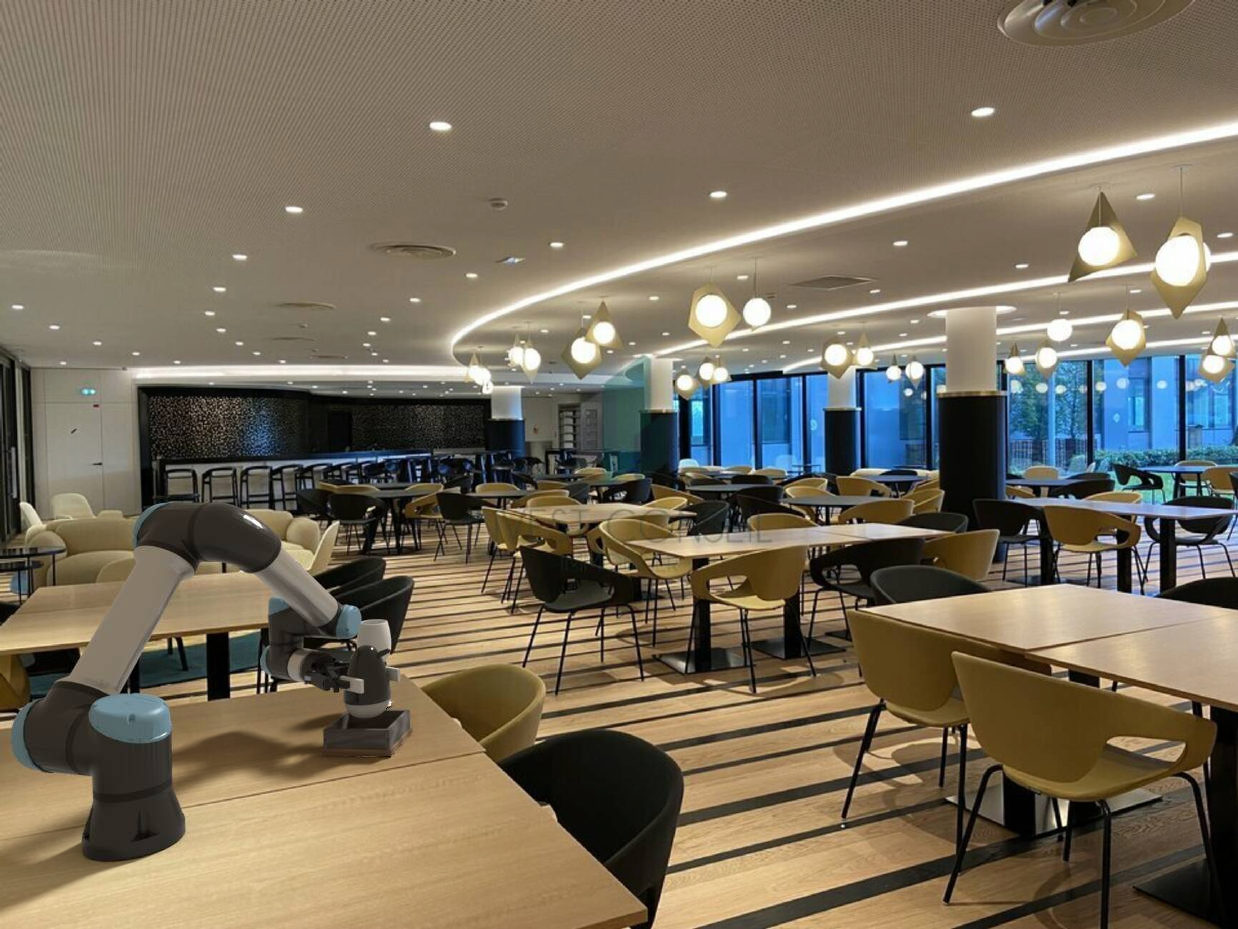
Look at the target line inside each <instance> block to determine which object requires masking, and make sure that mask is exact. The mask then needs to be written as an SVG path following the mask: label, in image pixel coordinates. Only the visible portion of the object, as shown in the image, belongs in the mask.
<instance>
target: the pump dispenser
mask: <svg viewBox="0 0 1238 929" xmlns="http://www.w3.org/2000/svg"><path fill="white" fill-rule="evenodd" d="M391 650H392V649H391ZM391 650H390V648H387V649H384V650H381V651H378V650H377V649H376V648H375V647H374V646H372V645H362V646H360V647H358V648H357V647H356V648H355V650H354V651H353V654H352V655H351V657H350V660H349V661H348V662H349V664H348V667H347V671H346V674H345V676H347V677H352V678H357V679H362V680H364V693H356V692H352V691H347V690H342V702H343V703H344V706H345V708H346V711H348V712H349V713H350V714H351V715H353V716H355V717H358V718H371V717H375V716H378V715H380V714H381V713H383V712H384V711H385V710H387V709H388V708H387V706H388V704H389V701H391V698H392V685H391V680H390V679H389V675H388V671H387V668H386V665H385V663H384V661H383V658H382V657H383V656H385V655H386V654H388V653H391ZM386 708H387V709H386Z"/></svg>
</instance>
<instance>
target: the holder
mask: <svg viewBox="0 0 1238 929" xmlns="http://www.w3.org/2000/svg"><path fill="white" fill-rule="evenodd" d="M410 715H411V713H410V709H386V710H385V711H384V712H383V713H381V714H380V715H378V716H375V717H371V718H358V717H355V716H353V715H351V714H350V713H349V712H348V711H347V710H346V711H344V712H343V713H342V714H340V716H338V717H337V718H336V719H335V720H333V721H332V722H331V723H330V724H328V725H327V726H326V727H324V728H323V730H322V734H323V736H322V737H323V739H322V741H323V746H322V748H321V749H320V757H321V756H392V755H393V753H395V751H397V752H398V750H399V749H400V748H401V747H402V746H403V745H402V743H404V741H407V740H408V739H409V738H410V737H411V736H412V735H411V733H413V734H414V731H413V730H414V728H413V726H411V716H410ZM410 735H411V736H410ZM409 736H410V737H409ZM408 737H409V738H408ZM407 738H408V739H407ZM406 739H407V740H406ZM404 744H405V743H404ZM401 745H402V746H401ZM400 746H401V747H400ZM399 747H400V748H399ZM398 748H399V749H398ZM397 749H398V750H397ZM395 754H396V753H395ZM393 756H394V755H393ZM393 756H392V757H393Z"/></svg>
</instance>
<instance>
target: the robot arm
mask: <svg viewBox="0 0 1238 929" xmlns="http://www.w3.org/2000/svg"><path fill="white" fill-rule="evenodd" d="M132 535H134V536H133V538H132V539H131V542H132V546H133V549H134V550H133V552H132V556H133V559H134V561H135V564H134V566H133V568H132V569H131V572H130V573H129V575H128V577H127V578H126V580H125V582H124V583H123V585H122V586H121V588H120V589H119V591H118V594H116V596H115V598H114V600H113V602H112V603H111V605H110V606H109V608H108V610H107V612H106V614H105V615H104V617H103V618H102V621H101V622H100V623H99V625H98V627H97V629H96V630H95V632H94V633H93V636H92V637H91V639H90V641H89V642H88V644H87V645H86V647H85V649H84V650H83V652H82V654H81V656H80V657H79V659H78V660H77V663H76V664H75V666H74V668H73V669H72V671H71V672H70V674H69V675H68V676H64V677H62V678H60V679H59V678H58V679H57V680H55V681H54V683H53V685H52V686H51V688H50V689H49V691H48V693H47V694H46V696H45V697H42V698H37V699H35V700H33V701H32V702H28V703H27V704H25V705H24V706H22V708H21V709H20V710H19V712H18V713H17V715H16V716H15V718H14V720H13V723H12V724H11V725H12V726H11V729H10V736H9V737H10V744H11V745H12V749H11V751H12V754H13V755H14V758H15V759H16V760H17V761H18V763H19V764H20V765H22V766H23V767H25V768H26V769H29V770H33V771H40V772H41V773H44V774H56V773H57V774H64V775H65V774H66V775H73V776H84V777H91V784H92V785H91V786H92V789H91V790H92V803H91V807H90V810H89V813H88V815H87V816H88V817H87V820H86V823H85V825H84V829H83V832H82V835H81V853H82V855H83V856H84V857H86V858H88V859H91V860H95V861H103V862H104V861H106V862H108V861H109V862H111V861H123V860H128V859H135V858H139V857H143V856H148V855H149V854H153V853H156V852H158V851H161V850H164V849H166V848H169V847H170V846H172V845H174V844H175V843H177V842H178V841H179V840H181V839H182V837H183V836H184V835H185V833H186V830H187V829H186V816H185V813H184V812H183V810H182V807H181V804H180V801H179V799H178V797H177V795H176V793H175V790H174V786H173V749H172V747H173V746H172V745H173V743H172V742H173V740H172V737H173V736H172V735H173V733H172V732H173V731H172V729H173V725H172V724H173V723H172V720H171V714H170V707H169V704H167V702H166V701H165V700H164V699H163V698H161V697H159V696H156V695H153V694H147V693H139V692H133V693H130V694H129V693H121V691H122V689H123V688H124V686H125V684H126V682H127V680H128V679H129V677H130V675H131V674H132V671H133V669H134V668H135V666H136V664H137V663H138V660H139V658H140V657H141V655H142V653H143V651H144V649H145V647H146V646H147V644H148V642H149V641H150V638H151V637H152V635H153V633H154V631H155V629H156V628H157V626H158V624H159V622H160V620H161V618H162V617H163V615H164V613H165V611H166V609H167V608H168V605H169V604H170V602H171V600H172V598H173V597H174V594H175V593H176V591H177V589H178V588H179V586H180V584H181V582H185V581H188V580H191V579H192V578H193V577H194V575H195V574H196V572H197V570H198V568H199V566H200V565H201V563H224V564H228V565H232V566H235V567H236V568H238V569H239V570H240V571H241V572H243V573H246V574H249V575H251V574H252V575H254V576H255V577H257V578H258V580H260V581H261V582H262V583H263V584H264V585H265V586H267V587H268V588H269V589H270V590H271V591H272V592H273V593H274V594H275V595H272V596H271V597H270V598H269V600H268V608H267V609H268V614H267V621H268V622H267V623H268V643H269V644H268V645H267V646H266V648H264V649H263V651H262V653H261V657H260V660H259V663H260V667H261V669H262V670H263V672H264V673H265V674H267V675H270V676H272V677H275V678H277V679H284V680H290V681H294V682H298V683H303V684H304V686H306V685H307V686H308V685H312V686H314V687H316V688H318V689H319V690H322V691H324V692H330V691H331V689H333V690H332V691H333V693H334V694H336V693H337V694H338V693H339V692H340V690H342V691H343V690H347V691H352V692H356V693H364V680H362V679H357V678H352V677H347V676H345V674H346V671H347V667H348V664H349V662H350V661H343V660H338V659H336V656H334V655H333V654H332V653H330V652H326V651H321V650H316V649H312V648H311V649H310V648H304V641H305V640H304V638H321V639H322V638H323V639H335V640H336V639H337V640H341V639H344V640H345V639H353V638H354V637H355V636H357V635H358V631H359V628H360V626H361V622H362V614H361V612H360V610H359V608H358V607H357V606H354V605H349V604H341V603H340V602H339V601H338V600H336V599H335V597H334V596H332V594H330V592H328V591H327V589H325V587H323V586H322V584H320V583H319V582H318V581H317V580H316V579H315V578H314V577H313V576H312V575H311V574H310V573H309V572H308V571H307V570H306V569H305V568H304V567H303V566H302V565H301V564H300V563H299V562H298V561H297V560H296V559H295V558H294V557H293V556H292V555H291V554H290V553H289V552H288V551H287V550H286V549H285V548H284V547H283V542H282V539H281V538H280V536H279V535H278V534H277V533H276V532H275V531H274V530H273V529H272V528H271V527H270V526H269V525H267V524H266V523H264V521H262V520H261V519H259V518H258V517H257V516H255V515H254V514H252V513H250V512H248V511H247V510H245V509H243V508H241V507H238V506H236V505H233V504H230V503H226V502H182V501H169V502H163V503H157V504H155V505H152V506H150V507H148V508H146V509H145V510H144V511H143V512H142V513H141V514H140V515H139V516H138V518H137V520H136V521H135V524H134V526H133V529H132ZM384 663H385V665H386V668H387V671H388V675H389V679H390V682H391V681H392V682H397V683H398V682H401V668H398V667H392V666H388V664H387V661H385V662H384Z"/></svg>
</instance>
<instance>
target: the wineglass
mask: <svg viewBox="0 0 1238 929" xmlns="http://www.w3.org/2000/svg"><path fill="white" fill-rule="evenodd" d="M356 636H357V637H356V649H357V648H358V647H360V646H362V645H372V646H374V647H375V648H376V649H377V650H378V651H381V650H384V649H387V648H390V650H392V637H391V636H392V635H391V629H390V626H389V622H388V620H387V619H376V618H375V619H374V618H373V619H367V620H361V626H360V628H359V631H358V633H357V634H356ZM390 653H391V652H390ZM390 653H388V654H386V655H385V656H383V657H382V658H383V661H384V662H387V661H386V660H388V659H389V656H390ZM391 701H392V700H390V701H389V704H388V706H391V703H392V702H393V701H392V702H391Z"/></svg>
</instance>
